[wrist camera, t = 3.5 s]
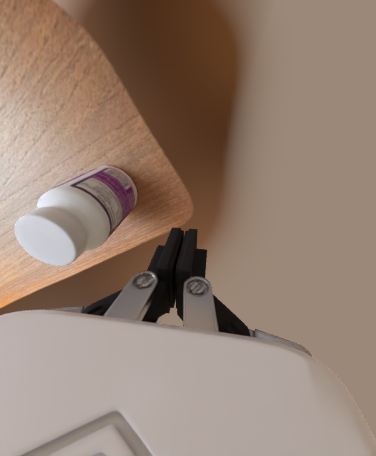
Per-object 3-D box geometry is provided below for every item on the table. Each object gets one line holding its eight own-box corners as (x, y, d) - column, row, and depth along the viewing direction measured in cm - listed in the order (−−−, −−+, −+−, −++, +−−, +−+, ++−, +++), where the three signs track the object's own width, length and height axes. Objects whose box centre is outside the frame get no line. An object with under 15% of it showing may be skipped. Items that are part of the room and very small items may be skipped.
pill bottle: (102, 214, 22) (33, 275, 14) (81, 168, 19) (-18, 210, 11) (145, 210, 21) (98, 273, 13) (130, 160, 18) (58, 200, 10)
